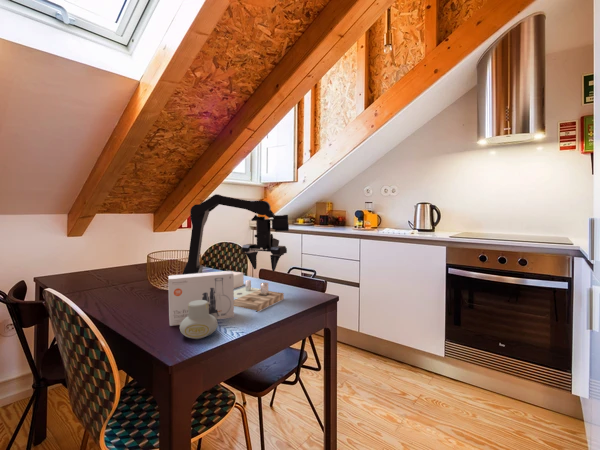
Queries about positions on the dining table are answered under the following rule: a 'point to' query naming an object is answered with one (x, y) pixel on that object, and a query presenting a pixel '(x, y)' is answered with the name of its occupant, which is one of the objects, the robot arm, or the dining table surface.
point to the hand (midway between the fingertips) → (264, 270)
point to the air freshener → (198, 321)
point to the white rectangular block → (238, 279)
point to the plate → (245, 290)
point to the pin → (264, 289)
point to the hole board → (258, 300)
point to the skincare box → (201, 294)
